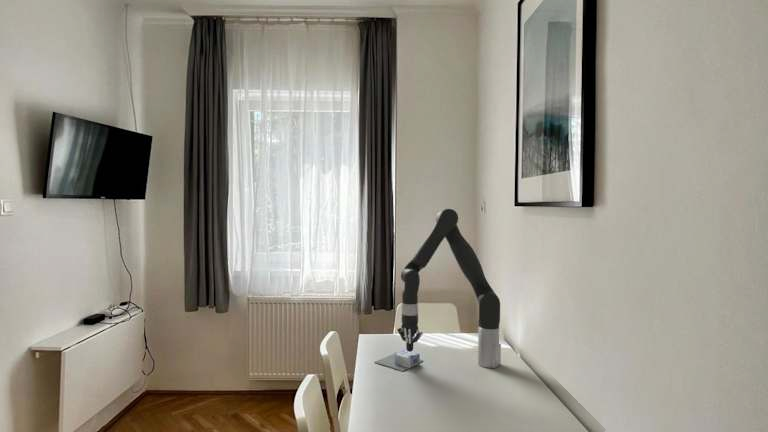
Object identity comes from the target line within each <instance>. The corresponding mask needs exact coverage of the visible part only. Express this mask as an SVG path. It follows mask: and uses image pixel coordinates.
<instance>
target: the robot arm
mask: <svg viewBox="0 0 768 432" xmlns="http://www.w3.org/2000/svg"><path fill="white" fill-rule="evenodd" d="M435 222H436V224H435V226H434V228H433V229H432V231H431V233H430V234H429V235H428V236H427V237H426V239H425V240H424V241H423V243H422V244H421V245H420V247H419V248H418V249H417V251H416V252H415V254H414V255H413V257H412V259H411V260H410V261H409V262H408V263H407V264H406V265H405V266H404V268H403V269H402V271H401V274H400V279H401V281H402V282H403V283H404V290H403V291H402V294H401V297H402V298H401V301H402V302H401V325H400V327H399V328H397V333H398V334H399V336H400V337H401V339H402V341H403V342H405V343H406V346H405V348H406V349H405V350H406V351H409V352H413V350H414V344H415V343H417V342H419V340H420V338H421V337H422V336H423V334H424V333H423V332H422V331H420V330H419V325H418V324H419V304H418V303H419V302H418V301H419V300H418V298H419V297H418V296H419V295H418V292H419V287H420V282H421V281H420V274H419V273H420V272H421V270H422V269H424V268H426V266H428V264H429V262H430V261H431V259H432V257H433V256H434V254H435V253H436V251H437V249H438V248H439V246H441V243H442V242H443V241H444V239H446V241H447V243H448V245H449V248H450V250H451V252H452V254H453V257H454V258H455V261H456V263H457V265H458V266H459V268H460V270H461V272H462V273H463V275H464V277H465V279H466V280H467V281H468V282H469V283H470V285H471V287H472V289H473V291H474V294H475V297H476V299H477V302H478V323H477V324H478V327H477V328H478V329H477V330H478V331H477V333H478V335H477V336H478V337H477V341H478V343H477V346H478V348H477V350H478V351H477V352H478V355H477V361H478V362H477V364H478V366H480V367H484V368H488V369H491V368H492V369H496V368H498V367H499V366H501V363H502V361H501V360H502V359H501V358H502V357H501V356H502V351H501V350H502V348H501V347H502V344H501V343H500V322H501V301H500V298H499V297H498V295H497V294H496V293H495V291H494V290H493V288H492V287H491V285H490V283H489V282H488V281H487V280H488V279H487V278H486V275H485V273H484V269H483V267H482V265H481V262H480V260H479V258H478V255H477V254H476V252H475V250H474V249H473V247H472V246H471V244H470V243H469V242H468V241H467V240H466V239H465V238H464V235H462V233H461V231H460V228H459V227H458V222H459V215H458V213H457V212H456V211H455V210H454V209H451V208H445V209H442V210H440V211H439V212H438V213H437V215H436V217H435Z"/></svg>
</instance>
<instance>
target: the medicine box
mask: <svg viewBox="0 0 768 432" xmlns="http://www.w3.org/2000/svg"><path fill="white" fill-rule="evenodd" d="M396 353H397V354H395V364H397V365H400V366H404V367H407V368H409V369H411V368H413V367H415V366H417V365H419V364H421V363H420V360H421V358H420V356H421V355H420V354H421V353H417V352H413V351H411V352H409V351H407V349H404V350H401V351H400V352H396Z"/></svg>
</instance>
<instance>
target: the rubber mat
mask: <svg viewBox="0 0 768 432" xmlns="http://www.w3.org/2000/svg"><path fill="white" fill-rule="evenodd" d="M397 353H398V352H395V353H392V354H390V355H387V356H386V357H383V358H381V359H378V360H376V361H374V363H375V364H376V365H380V366H383V367H386V368H389V369H393V370H396V371H398V372H402V373H403V372H405V371H408V370H409V369H410V368H407V367H404V366H400V365H397V364H395V354H397ZM423 362H424V360H423V359H420V363H419V364H421V363H423Z"/></svg>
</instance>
